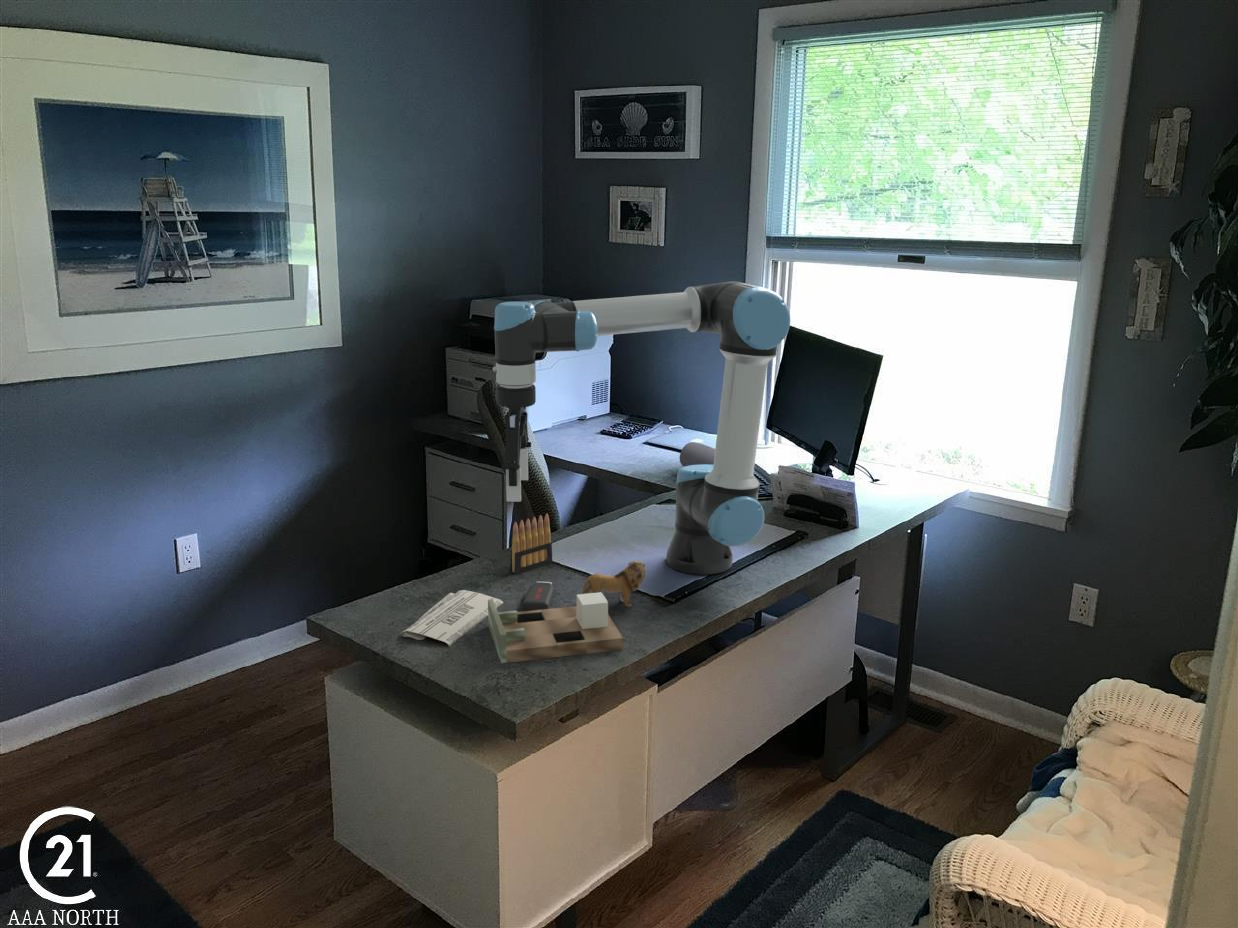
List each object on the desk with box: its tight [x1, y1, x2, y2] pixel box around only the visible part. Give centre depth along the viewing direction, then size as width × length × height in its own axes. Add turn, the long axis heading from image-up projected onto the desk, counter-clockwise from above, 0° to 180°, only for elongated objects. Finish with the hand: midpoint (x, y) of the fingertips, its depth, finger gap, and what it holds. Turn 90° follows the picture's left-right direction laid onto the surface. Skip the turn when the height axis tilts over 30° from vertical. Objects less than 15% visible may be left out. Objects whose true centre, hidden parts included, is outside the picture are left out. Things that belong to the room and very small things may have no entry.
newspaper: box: [401, 589, 504, 647], centre depth 202 cm, size 23×12×2 cm, turn 158°
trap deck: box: [487, 599, 624, 664], centre depth 194 cm, size 23×16×6 cm
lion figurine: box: [581, 560, 646, 608], centre depth 209 cm, size 15×5×9 cm, turn 105°
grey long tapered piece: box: [678, 441, 716, 467], centre depth 292 cm, size 23×9×10 cm, turn 30°
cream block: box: [576, 592, 609, 629], centre depth 195 cm, size 5×5×5 cm
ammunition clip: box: [509, 513, 553, 575], centre depth 227 cm, size 11×2×12 cm, turn 133°
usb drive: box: [522, 581, 555, 612], centre depth 211 cm, size 5×12×3 cm, turn 175°
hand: (517, 490), depth 199 cm, fingers open, 13 cm apart
